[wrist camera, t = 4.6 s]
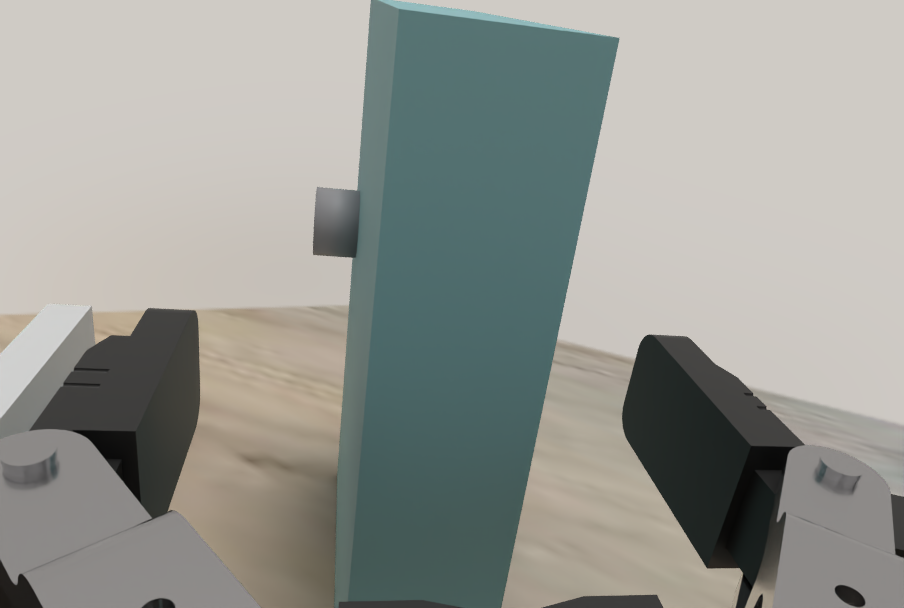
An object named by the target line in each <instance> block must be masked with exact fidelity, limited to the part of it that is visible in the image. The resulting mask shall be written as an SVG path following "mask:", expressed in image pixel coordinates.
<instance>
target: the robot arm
mask: <svg viewBox="0 0 904 608" xmlns="http://www.w3.org/2000/svg"><path fill="white" fill-rule="evenodd" d="M199 405H200V370H199V333H198V318H197V313H196V311H194V310H174V309H155V308H148V309H147V310H146V311H145V313H144V315H143V316H142V318H141V320H140V321H139V323H138V324H137V326H136V328H135V329H134V331H133V333H132V334H131V336H115V335H111V336H109V337H108V338H106V339H104V340H103V341H101V342H99V343H98V344H96V345H94V346H93V347H91V348H89V349H87V350H86V352H85V353H84V354H83V356H82V357H81V359H80V360H79V361H78V363H77V364H76V366H75V367H74V371H71V373H70V374H69V375H68V377H67V378H66V380H65V381H64V382H63V387H60V388H59V389H58V391H57V392H56V394H55V395H54V396H53V398H52V399H51V401H50V402H49V403H48V405H47V406H46V408H45V409H44V410H43V412H42V413H41V415H40V416H39V417H38V419H37V420H36V422H35V423H34V424H33V426H32V427H31V429H30V430H29V431H27V432H22V433H18V434H14V435H10V436H8V437H5V438H2V439H0V608H261V607H260V606H259V605H258V604H257V602H256V601H255V600H254V599H253V598H252V596H251V595H250V594H249V593H248V592H247V591H246V589H245V588H244V587H243V586H242V585H241V584H240V582H239V581H238V580H237V579H236V578H235V576H234V575H233V574H232V573H231V572H230V571H229V569H228V568H227V567H226V566H225V565H224V563H223V562H222V561H221V560H220V559H219V558H218V556H217V555H216V554H215V553H214V552H213V551H212V549H211V548H210V547H209V546H208V545H207V543H206V542H205V541H204V540H203V539H202V538H201V536H200V535H199V534H198V533H197V532H196V531H195V529H194V528H193V527H192V526H191V525H190V523H189V522H188V521H187V520H186V519H185V518H184V517H183V516H182V515H181V514H180V513H178V512H176V511H173V510H171V511H168V508H169V505H170V502H171V499H172V497H173V494H174V491H175V488H176V485H177V482H178V479H179V476H180V473H181V470H182V467H183V464H184V461H185V458H186V455H187V452H188V449H189V446H190V444H191V441H192V438H193V435H194V432H195V429H196V425H197V420H198V414H199ZM622 422H623V429H624V433H625V436H626V438H627V440H628V442H629V444H630V445H631V447H632V448H633V450H634V452H635V453H636V455H637V456H638V458H639V460H640V461H641V463H642V464H643V466H644V468H645V469H646V471H647V472H648V474H649V476H650V477H651V479H652V481H653V482H654V484H655V485H656V487H657V489H658V490H659V492H660V493H661V495H662V497H663V498H664V500H665V501H666V503H667V505H668V506H669V508H670V509H671V511H672V513H673V514H674V516H675V517H676V519H677V521H678V522H679V524H680V525H681V527H682V529H683V530H684V532H685V534H686V535H687V537H688V538H689V540H690V542H691V543H692V545H693V546H694V548H695V550H696V551H697V553H698V554H699V556H700V558H701V559H702V561H703V562H704V564H705V566H706V567H707V568H740V569H741V571H742V572H743V573H742V575H741V578H740V580H739V583H738V585H737V588H736V591H735V595H734V599H733V604H732V608H904V497H902V496H897V495H893V494H891V492H890V488H889V486H888V484H887V483H886V481H885V480H884V479H883V478H882V477H881V476H880V475H879V474H878V473H877V472H876V471H875V470H873V469H872V468H871V467H869V466H868V465H866V464H865V463H863V462H861V461H860V460H858V459H856V458H854V457H852V456H850V455H847V454H845V453H842V452H840V451H837V450H833V449H830V448H826V447H821V446H813V445H805V444H804V443H803V442H802V441H801V440H800V439H799V438H797V437H796V436H795V435H794V434H793V433H792V432H791V431H790V430H789V429H788V428H787V427H786V426H785V425H784V424H783V423H782V422H781V421H780V420H779V419H778V418H777V417H776V416H775V415H774V414H773V413H772V412H771V411H770V410H766V406H765V405H764V404H763V403H762V402H761V401H760V400H759V399H758V398H757V397H754V396H753V393H752V392H751V391H750V390H749V389H748V388H747V387H746V386H745V385H744V384H743V383H742V382H741V381H740V380H739V379H738V378H737V377H736V376H734V375H732V374H731V373H729V372H727V371H726V370H724V369H722V368H721V367H719V366H717V365H716V364H714V363H713V362H712V361H711V360H710V358H709V357H707V355H706V354H704V352H703V351H702V350H701V349H700V348H699V347H698V346H697V345H696V344H695V343H694V342H693V341H692V340H691V339H689V338H688V337H684V336H666V335H665V336H664V335H647V336H645V337H644V338H643V340H642V341H641V343H640V345H639V348H638V352H637V356H636V360H635V364H634V367H633V371H632V375H631V379H630V383H629V386H628V390H627V394H626V398H625V402H624V406H623V413H622ZM167 511H168V512H167ZM338 608H462V607H457V606H452V605H446V604H441V603H436V602H431V601H425V600H393V601H346V602H339V607H338ZM543 608H663V606H662V604H661V602H660V600H659V598H658V596H657V595H629V596H583V597H580V598H576V599H572V600H569V601H565V602H561V603H557V604H554V605H550V606H546V607H543Z"/></svg>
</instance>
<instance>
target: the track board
mask: <svg viewBox="0 0 904 608" xmlns="http://www.w3.org/2000/svg"><path fill="white" fill-rule="evenodd" d="M94 345H95V337H94V326H93V315H92V306H81V305H63V304H47V305H46V306H45V307H44V308H43V310H42V311H41V312H40V313H39V314H38V315H37V316H36V317H35V318H34V319H33V320H32V321H31V322H30V323H29V324H28V325H27V326H26V327H25V328H24V330H23V331H22V332H21V333H20V334H19V335H18V336H17V337H16V338H15V339H14V340H13V341H12V342H11V343H10V344H9V345H8V346H7V347H6V348H5V349H4V351H3V352H2V353H1V354H0V439H2V438H5V437H8V436H10V435H14V434H18V433H22V432H27V431H29V430H30V429H31V427H32V426H33V424H34V423H35V422H36V420H37V419H38V417H39V416H40V415H41V413H42V412H43V410H44V409H45V408H46V406H47V405H48V403H49V402H50V401H51V399H52V398H53V396H54V395H55V394H56V392H57V391H58V389H59V388H60V387H63V382H64V381H65V380H66V378H67V377H68V375H69V374H70V373H71V371H74V367H75V366H76V364H77V363H78V361H79V360H80V359H81V357H82V356H83V354H84V353H85V352H86V350H87V349H89V348H91V347H93V346H94Z"/></svg>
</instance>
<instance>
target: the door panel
mask: <svg viewBox="0 0 904 608" xmlns="http://www.w3.org/2000/svg"><path fill="white" fill-rule="evenodd" d="M618 43H619V38H616V37H611V36H605V35H600V34H594V33H589V32H583V31H578V30H573V29H567V28H562V27H556V26H551V25H545V24H539V23H534V22H529V21H524V20H518V19H513V18H507V17H502V16H496V15H491V14H486V13H480V12H474V11H468V10H460V9H452V8H445V7H437V6H430V5H423V4H416V3H408V2H401V1H393V0H371V7H370V21H369V36H368V49H367V63H366V78H365V91H364V106H363V119H362V133H361V147H360V163H359V176H358V190H357V191H355V190H344V189H343V190H342V189H332V188H319V187H317V191H316V202H315V217H314V237H313V238H314V239H313V255H323V256H338V257H352V258H353V260H352V274H351V289H350V303H349V317H348V331H347V345H346V359H345V373H344V387H343V401H342V416H341V430H340V444H339V458H338V472H337V510H336V554H335V598H334V608H338V607H339V602H346V601H393V600H425V601H431V602H436V603H441V604H446V605H452V606H457V607H462V608H501V606H502V601H503V596H504V591H505V587H506V582H507V577H508V572H509V567H510V563H511V558H512V553H513V548H514V543H515V539H516V534H517V529H518V524H519V519H520V514H521V510H522V505H523V500H524V495H525V490H526V486H527V481H528V476H529V471H530V466H531V461H532V457H533V452H534V447H535V442H536V437H537V433H538V428H539V423H540V418H541V413H542V409H543V404H544V399H545V394H546V389H547V384H548V380H549V375H550V370H551V365H552V360H553V356H554V351H555V346H556V341H557V336H558V331H559V326H560V322H561V317H562V312H563V307H564V303H565V298H566V292H567V288H568V283H569V278H570V274H571V269H572V264H573V259H574V254H575V250H576V245H577V240H578V235H579V230H580V225H581V221H582V216H583V211H584V206H585V201H586V197H587V192H588V187H589V182H590V177H591V172H592V167H593V163H594V158H595V153H596V148H597V144H598V139H599V134H600V129H601V124H602V120H603V115H604V110H605V105H606V100H607V95H608V91H609V86H610V81H611V76H612V71H613V66H614V62H615V57H616V52H617V47H618Z"/></svg>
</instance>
